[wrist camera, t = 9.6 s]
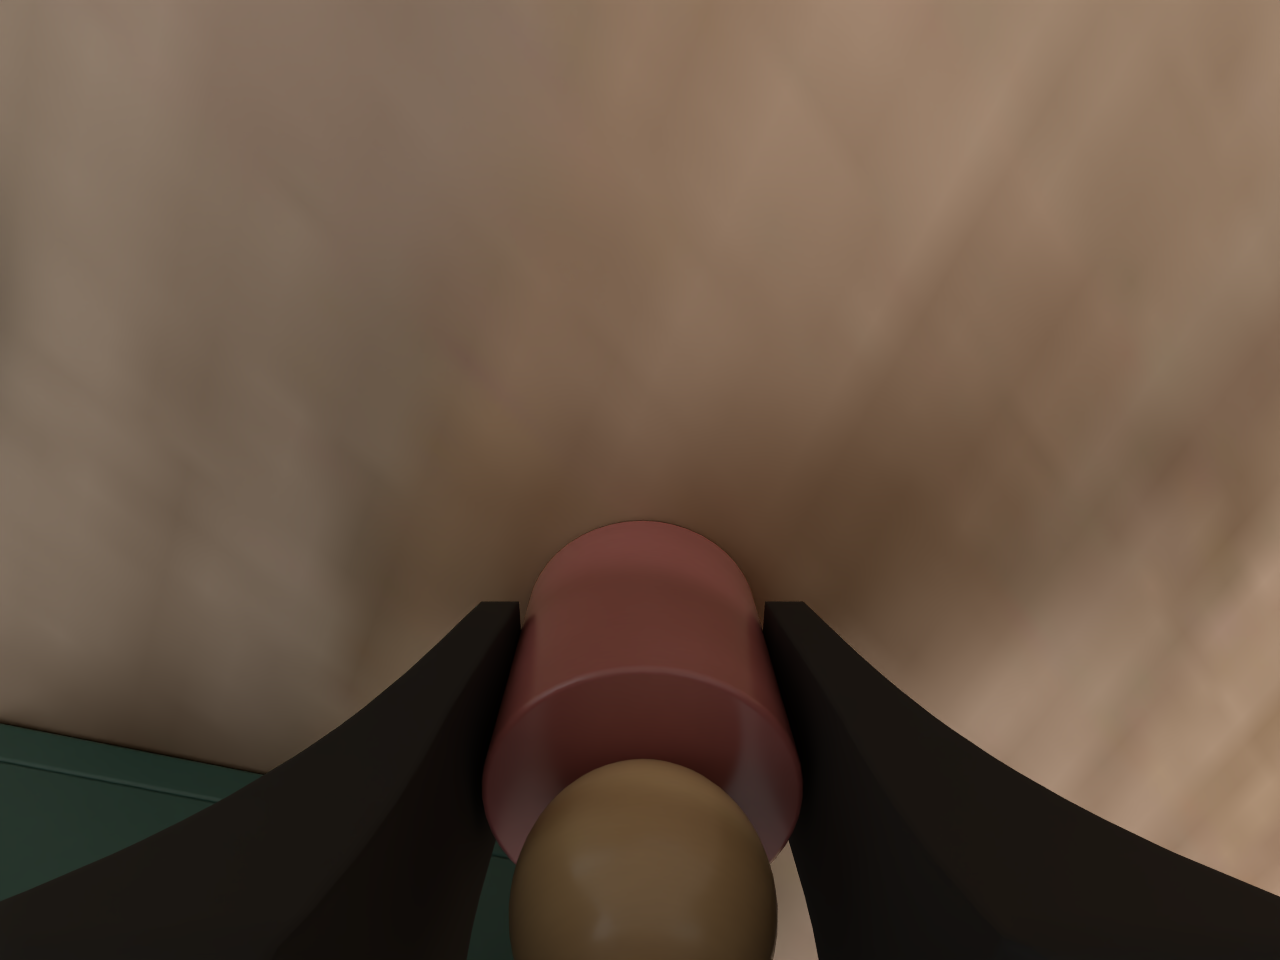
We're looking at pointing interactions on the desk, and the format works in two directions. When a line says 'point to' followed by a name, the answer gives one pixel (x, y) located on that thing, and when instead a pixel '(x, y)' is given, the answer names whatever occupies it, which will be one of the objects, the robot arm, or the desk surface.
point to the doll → (642, 756)
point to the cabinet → (141, 815)
